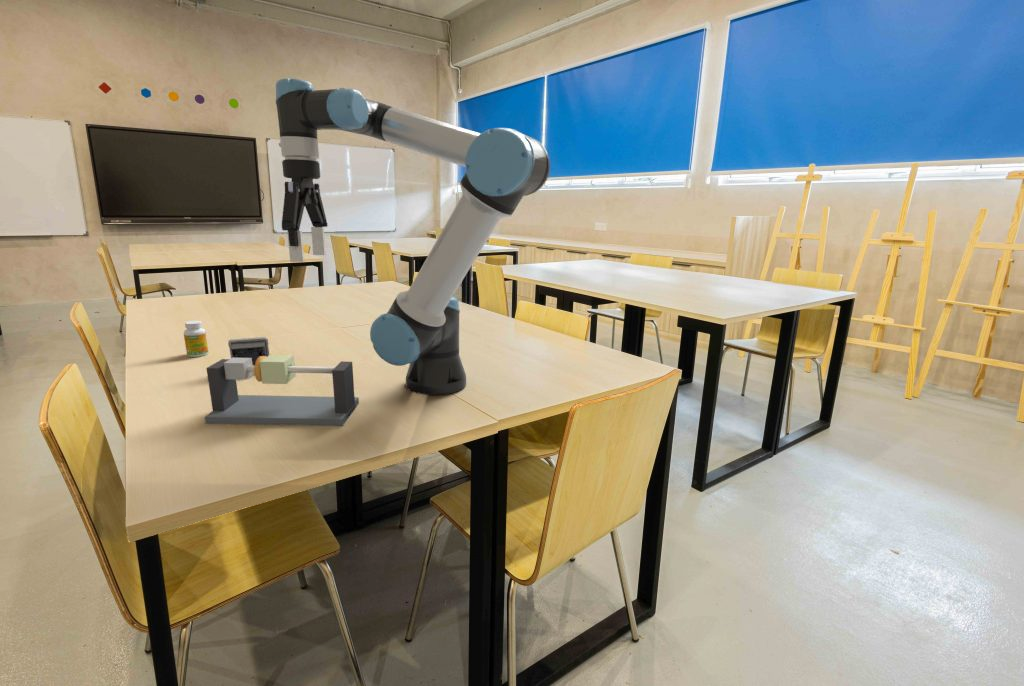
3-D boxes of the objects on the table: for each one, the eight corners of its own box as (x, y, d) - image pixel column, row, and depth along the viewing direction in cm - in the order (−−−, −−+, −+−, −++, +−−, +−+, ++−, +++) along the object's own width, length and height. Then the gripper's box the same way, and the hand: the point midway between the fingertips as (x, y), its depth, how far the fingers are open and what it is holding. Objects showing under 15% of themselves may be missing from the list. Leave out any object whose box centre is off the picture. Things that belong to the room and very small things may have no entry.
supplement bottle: (189, 358, 144) (183, 325, 142) (185, 354, 148) (180, 321, 146) (210, 355, 148) (205, 322, 145) (206, 350, 152) (201, 319, 149)
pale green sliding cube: (295, 376, 111) (293, 355, 109) (286, 384, 106) (284, 362, 105) (272, 375, 111) (270, 354, 109) (262, 383, 106) (259, 361, 105)
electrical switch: (271, 366, 140) (267, 334, 137) (271, 373, 136) (267, 341, 132) (233, 369, 137) (228, 337, 133) (231, 377, 132) (226, 344, 129)
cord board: (358, 403, 116) (355, 350, 113) (342, 425, 105) (338, 367, 101) (235, 401, 116) (228, 347, 112) (205, 423, 104) (196, 364, 101)
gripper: (305, 162, 122) (312, 252, 128) (256, 154, 98) (267, 264, 104) (336, 163, 122) (342, 252, 128) (295, 155, 98) (304, 265, 104)
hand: (309, 258), depth 116 cm, fingers open, 13 cm apart
